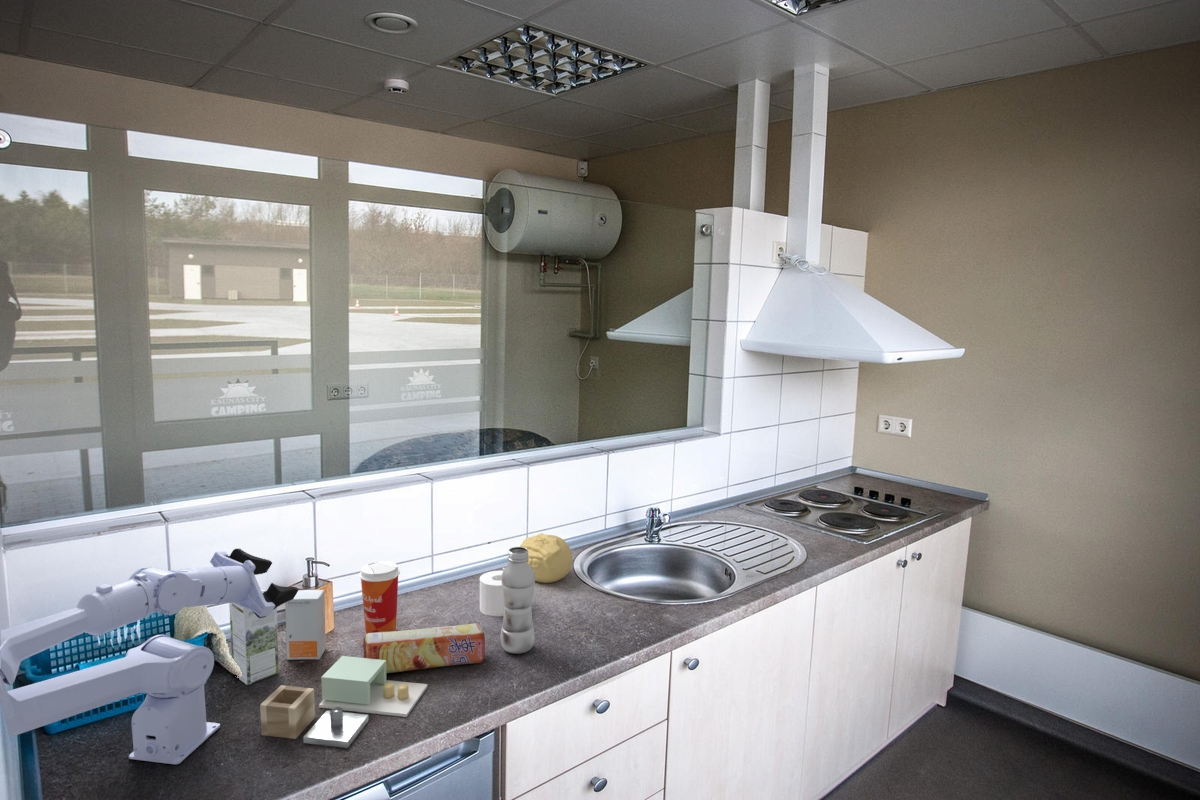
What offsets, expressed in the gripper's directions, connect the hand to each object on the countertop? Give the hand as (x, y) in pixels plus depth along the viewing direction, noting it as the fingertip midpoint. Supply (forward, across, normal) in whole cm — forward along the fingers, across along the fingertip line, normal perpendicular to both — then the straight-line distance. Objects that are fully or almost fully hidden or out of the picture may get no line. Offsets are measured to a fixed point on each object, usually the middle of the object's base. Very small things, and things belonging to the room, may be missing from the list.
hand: (281, 579), depth 124 cm
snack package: (+18, -24, +3) cm, 30 cm away
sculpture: (+62, -19, -9) cm, 66 cm away
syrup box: (+3, -4, +18) cm, 19 cm away
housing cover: (+5, -21, +8) cm, 23 cm away
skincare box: (+12, -5, +15) cm, 20 cm away
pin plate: (-3, -26, +9) cm, 28 cm away
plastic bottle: (+30, -33, -6) cm, 45 cm away
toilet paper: (+46, -20, -4) cm, 50 cm away
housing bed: (+6, -24, +7) cm, 26 cm away
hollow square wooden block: (-5, -20, +13) cm, 24 cm away
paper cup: (+24, -10, +8) cm, 27 cm away
